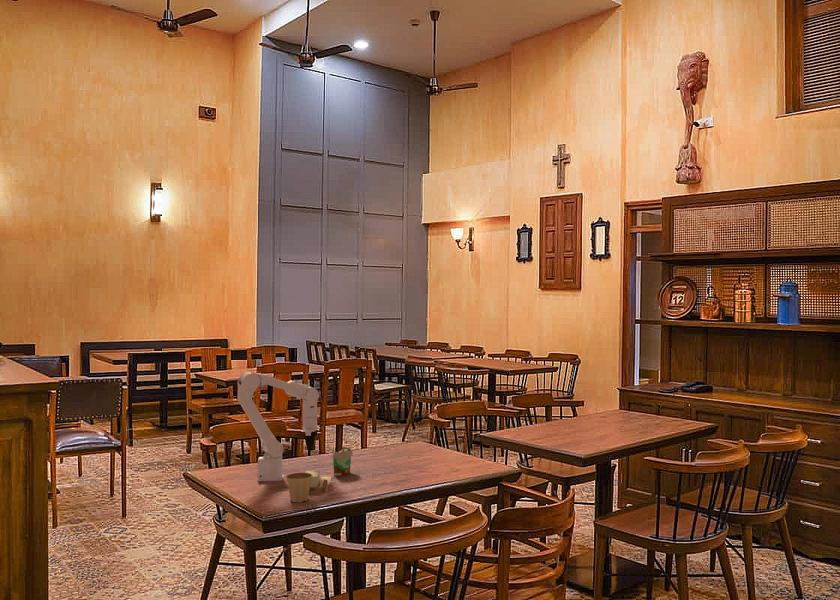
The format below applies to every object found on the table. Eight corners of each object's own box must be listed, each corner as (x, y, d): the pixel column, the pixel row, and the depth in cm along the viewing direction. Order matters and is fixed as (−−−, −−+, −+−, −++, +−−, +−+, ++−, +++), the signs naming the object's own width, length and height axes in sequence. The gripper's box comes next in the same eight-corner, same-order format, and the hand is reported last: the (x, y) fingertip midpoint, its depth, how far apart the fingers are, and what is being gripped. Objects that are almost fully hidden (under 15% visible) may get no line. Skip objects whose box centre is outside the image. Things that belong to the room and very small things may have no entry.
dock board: (293, 494, 255) (293, 488, 255) (301, 477, 278) (301, 473, 278) (326, 493, 255) (326, 488, 255) (331, 477, 278) (331, 472, 278)
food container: (347, 479, 276) (347, 453, 276) (332, 478, 277) (332, 453, 277) (356, 471, 288) (356, 447, 288) (342, 470, 289) (342, 446, 289)
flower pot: (289, 505, 241) (288, 480, 241) (283, 498, 249) (282, 474, 249) (315, 502, 245) (315, 477, 245) (308, 495, 253) (308, 471, 253)
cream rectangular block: (303, 491, 257) (303, 476, 257) (306, 484, 266) (306, 470, 266) (317, 491, 257) (317, 476, 257) (320, 484, 267) (320, 470, 267)
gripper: (318, 419, 276) (318, 453, 276) (321, 413, 290) (321, 446, 290) (300, 419, 276) (300, 454, 276) (304, 413, 290) (304, 446, 290)
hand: (310, 450), depth 283 cm, fingers closed
